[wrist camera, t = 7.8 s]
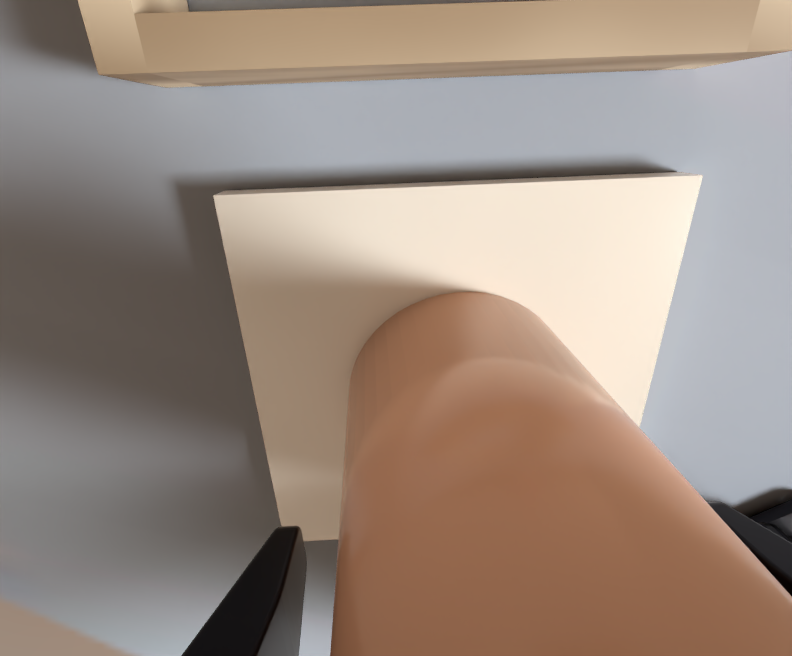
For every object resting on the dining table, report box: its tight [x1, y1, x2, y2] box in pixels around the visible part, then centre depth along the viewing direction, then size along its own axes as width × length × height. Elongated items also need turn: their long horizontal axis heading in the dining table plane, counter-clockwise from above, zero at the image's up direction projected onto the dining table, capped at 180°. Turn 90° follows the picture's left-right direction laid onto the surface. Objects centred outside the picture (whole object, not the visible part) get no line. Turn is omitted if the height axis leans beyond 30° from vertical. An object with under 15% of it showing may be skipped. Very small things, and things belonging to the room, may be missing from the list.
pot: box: [330, 292, 792, 656], centre depth 8 cm, size 6×6×9 cm
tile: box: [213, 172, 703, 541], centre depth 12 cm, size 11×11×1 cm
